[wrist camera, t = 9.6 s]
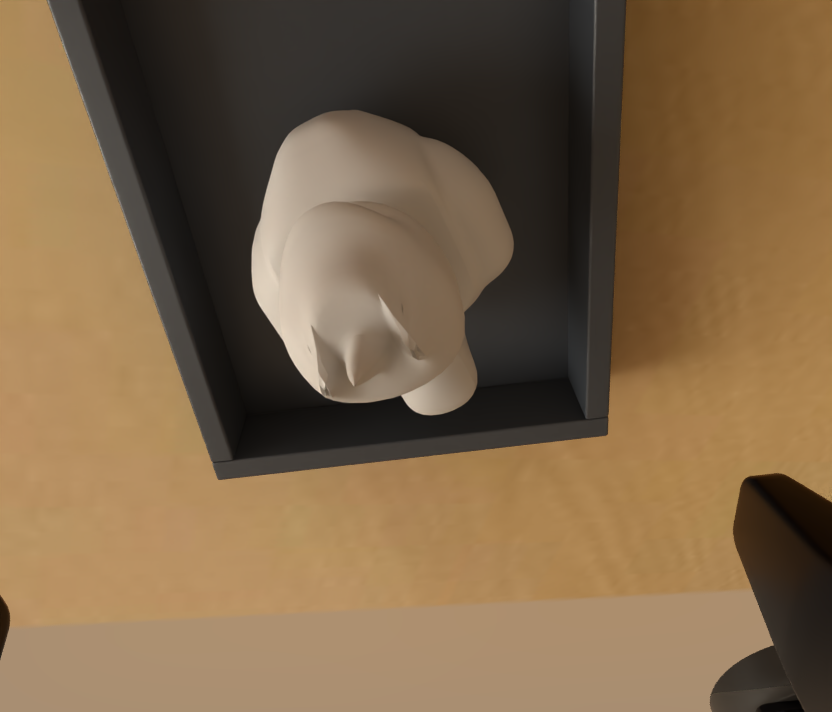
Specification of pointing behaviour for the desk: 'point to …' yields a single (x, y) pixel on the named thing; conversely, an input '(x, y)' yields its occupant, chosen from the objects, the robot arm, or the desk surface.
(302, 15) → the tray
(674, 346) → the desk surface
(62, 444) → the desk surface
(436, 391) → the white rounded lumpy piece
